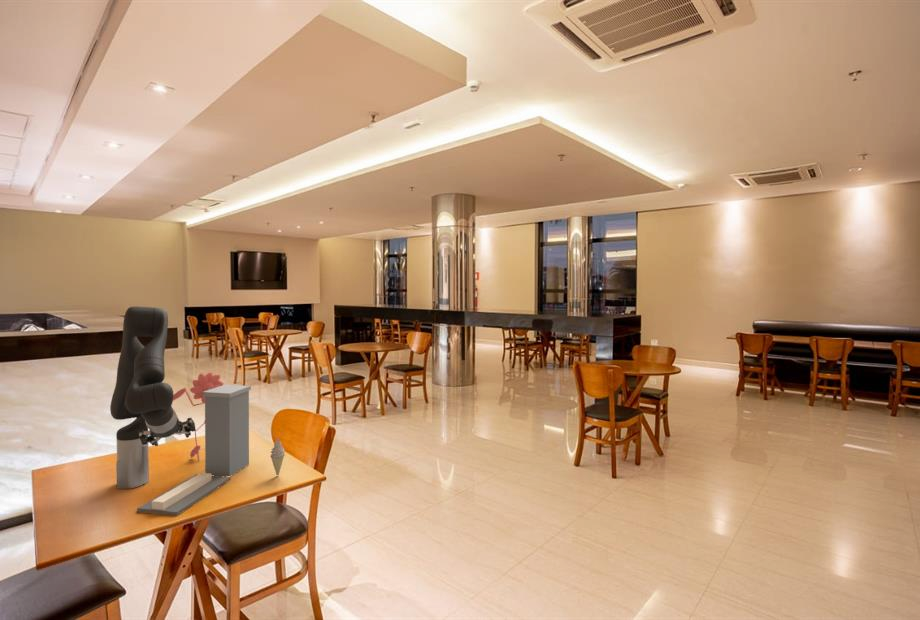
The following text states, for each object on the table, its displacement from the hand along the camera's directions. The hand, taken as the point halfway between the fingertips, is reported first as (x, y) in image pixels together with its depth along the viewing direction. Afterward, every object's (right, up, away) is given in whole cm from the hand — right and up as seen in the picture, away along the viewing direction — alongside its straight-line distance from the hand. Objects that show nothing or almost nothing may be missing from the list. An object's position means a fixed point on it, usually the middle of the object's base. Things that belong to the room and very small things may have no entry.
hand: (172, 438), depth 144 cm
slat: (-1, -21, +8) cm, 22 cm away
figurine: (-15, -20, +46) cm, 52 cm away
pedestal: (+2, -21, +31) cm, 37 cm away
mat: (-1, -22, +10) cm, 24 cm away
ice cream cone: (+23, -22, +26) cm, 41 cm away
